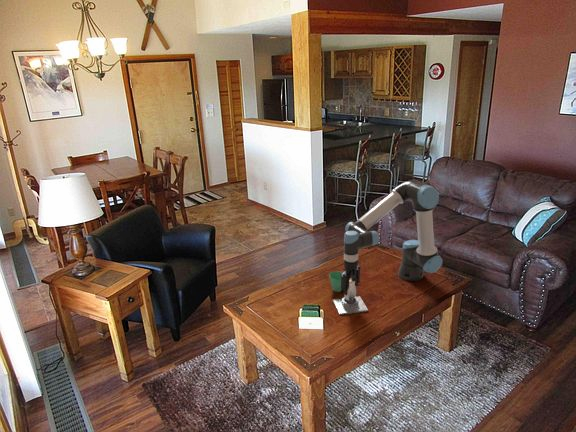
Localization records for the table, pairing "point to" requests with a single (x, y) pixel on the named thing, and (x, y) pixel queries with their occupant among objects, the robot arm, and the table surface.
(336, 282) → the mug
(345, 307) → the duct flange
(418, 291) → the table surface
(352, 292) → the pale grey cylinder
